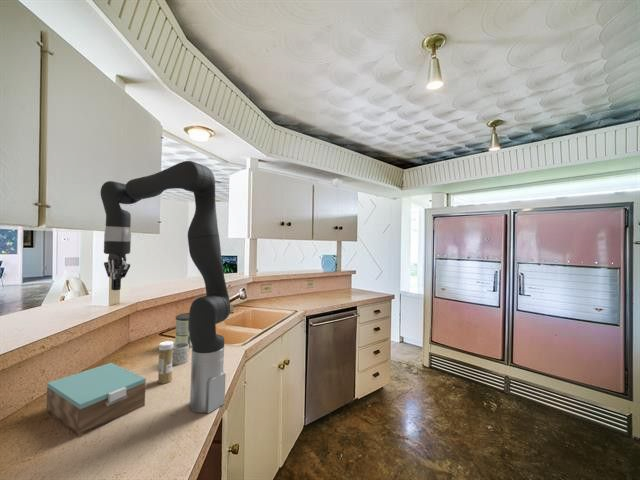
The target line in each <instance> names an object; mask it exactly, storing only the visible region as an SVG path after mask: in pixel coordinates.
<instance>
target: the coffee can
mask: <svg viewBox="0 0 640 480" xmlns="http://www.w3.org/2000/svg"><path fill="white" fill-rule="evenodd" d="M174 337H175V339H174V340H175V341H174V342H175V343H174V344H176V343H188V344H189V349H192V343H191V341H190V335H189V312H184V313H179V314H177V315H176V316H175V336H174Z"/></svg>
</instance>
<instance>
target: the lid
mask: <svg viewBox="0 0 640 480" xmlns="http://www.w3.org/2000/svg"><path fill="white" fill-rule="evenodd" d="M146 381H147V380H146V378H145V377H144V376H141V375H139V374H137V373H134V372H133V371H130V370H128V369H126V368H125V367H124V368H123V367H121V366H119V365H117V364H116V363H113V362H109V363H107V364H102V365H99V366H97V367H93V368H90V369H86V370H84V371H81V372H78V373H74V374H72V375H68V376H65V377H62V378H59V379H55V380H53V381H50V382H47V387H48V388H49V389H51V390H52V391H54V392H55V393H57V394H58V395H60V396H61V397H63V398H64V399H66V400H67V401H68V402H70V403H71V404H73V405H74V406H76V407H77V408H79V409H82V408H85V407H87V406H89V405H92V404H94V403H97V402H99V401H102V400H104V399H106V398H108V401H109V402H111V401H114V400H116V399H118V398H121V397H123V396H125V395H126V390H128V389H131V388H133V387H136V386H138V385H140V384H143V383H145V382H146ZM145 384H146V383H145ZM47 387H46V388H47Z"/></svg>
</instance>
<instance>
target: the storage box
mask: <svg viewBox="0 0 640 480" xmlns="http://www.w3.org/2000/svg"><path fill="white" fill-rule="evenodd" d="M46 388H47V389H46V413H47V414H49V415H50V416H51V417H52V418H53V419H55V420H56V421H58V422H59V423H60V424H62V425H63V426H64V427H65V428H67V429H68V430H69V431H70V432H72V433H73V434H74V435H76V436H77V437H78V438H80V437H82V436H84V435H86V434H88V433H90V432H92V431H95V430H97V429H98V428H101V427H103V426H105V425H107V424H109V423H112V422H113V421H115V420H117V419H120V418H121V417H124V416H125V415H128V414H130V413H131V412H134V411H136V410H138V409H140V408H142V407H144V406H145V405H146V404H145V403H146V382H145V383H143V384H140V385H138V386H136V387H133V388H131V389H128V390H126V395H125V396H123V397H121V398H118V399H116V400H114V401H111V402H109V401H108V398H106V399H104V400H102V401H99V402H97V403H94V404H92V405H89V406H87V407H85V408H82V409H79V408H77V407H76V406H74V405H73V404H71V403H70V402H68V401H67V400H66V399H64V398H63V397H61V396H60V395H58V394H57V393H55V392H54V391H52V390H51V389H49V388H48V387H46Z"/></svg>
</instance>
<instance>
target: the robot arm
mask: <svg viewBox="0 0 640 480" xmlns="http://www.w3.org/2000/svg"><path fill="white" fill-rule="evenodd" d="M170 189H177V190H179V189H181V190H185V191H187V192H191V193H193V195H194V202H195V211H194V215H193V217H192V220H191V222H190V224H189V227H188V230H187V243H188V244H187V245H188V252H189V256H190V259H191V260H192V262H193V264H194V265H195V267H196V268H197V270H198V271H199V273H200V274H201V276H202V278H203V282H204V286H205V296H200V297H197V298H195V299H194V300H193V301H192V303H191V305H190V307H189V312H188V313H189V335H190V341H191V343H192V348H191V365H190V366H191V367H190V368H191V369H190V390H189V391H190V394H189V395H190V397H189V398H190V399H189V401H190V402H189V408H190V410H191V411H193V412H194V413H198V414H199V413H203V414H204V413H207V414H210V413H211V412H213V411H215V410H217V409H218V408H220V407H221V406H223V405H224V404H225V403H226V401H225V400H226V398H225V397H226V374H227V373H226V372H224V366H225V365H224V361H225V360H224V359H225V357H224V356H225V337H224V336H223V335H222V334H217V330H216V329H217V328H216V327H217V324H220V323H221V322H224V321H226V320H227V318H228V317H229V315H230V314H231V301H230V296H229V291H228V288H227V284H226V280H225V274H224V272H225V271H224V265H223V259H222V252H221V240H220V233H219V227H218V217H217V207H216V179H215V175H214V172H213V171H212V170H211V168H209V167H208V166H205V165H203V164H201V163H198V162H196V161H192V160H185V161H181V162H178V163H175V164H174V165H172V166H170V167H168V168H165V169H163V170H161V171H158V172H155V173H153V174H149V175H147V176H141V177H137V178H132V179H130V180H129V181H126V183H121V182H117V181H112V180H108V181H106V182H104V183H103V184H102V185H101V188H100V197H101V202H102V205H103V209H104V213H105V228H104V239H103V254H105V255H108V256H107V262H106V261H105V262H103V266H104V269H105V271H106V274H107V277H108V278H109V279H110V280H111V286H110V287H111V288H110V290H111V291H119V290H120V291H121V286H122V285H121V284H122V283H121V282H122V280H123V278H126V276H127V274H128V272H129V269H130V268H131V264H130V263H127V256H126V255H129V254H131V242H132V240H131V239H132V233H131V226H132V225H131V220H132V217H131V215H132V214H131V212H129V211H127V210H125V209H123V208H122V207H121V205H120V204H122V205H123V204H124V205H133V204H136V203H138V202H139V201H141V200H145V199H151V198H155V197H157V196H159V195H161V194H163V192H164V191H166V190H170Z"/></svg>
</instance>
